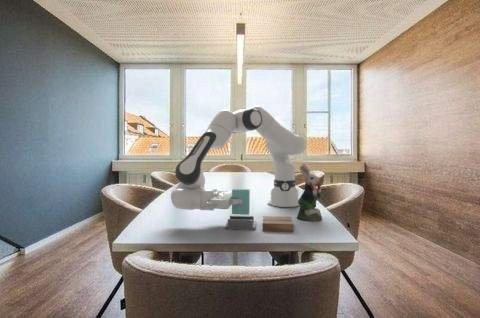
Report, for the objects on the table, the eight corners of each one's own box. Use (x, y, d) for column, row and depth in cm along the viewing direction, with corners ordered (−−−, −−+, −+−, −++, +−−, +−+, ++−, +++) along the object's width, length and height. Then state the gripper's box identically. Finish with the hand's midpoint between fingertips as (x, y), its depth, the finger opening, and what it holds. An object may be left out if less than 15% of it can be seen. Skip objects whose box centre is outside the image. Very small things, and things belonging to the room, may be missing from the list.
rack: (228, 222, 136) (228, 214, 136) (256, 223, 135) (256, 215, 135) (225, 229, 126) (225, 220, 126) (254, 229, 125) (254, 221, 125)
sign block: (232, 212, 132) (232, 188, 131) (249, 213, 131) (249, 189, 131) (231, 214, 129) (232, 189, 128) (248, 214, 128) (249, 190, 128)
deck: (263, 223, 136) (263, 216, 135) (291, 223, 134) (291, 217, 134) (262, 230, 124) (262, 223, 123) (293, 231, 122) (293, 224, 122)
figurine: (321, 225, 138) (330, 169, 136) (291, 220, 141) (300, 165, 138) (320, 219, 149) (329, 167, 146) (292, 214, 151) (300, 162, 149)
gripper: (204, 196, 121) (240, 197, 119) (214, 188, 141) (245, 189, 140) (204, 212, 121) (240, 213, 120) (214, 202, 141) (244, 203, 140)
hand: (243, 200), depth 130 cm, fingers closed on sign block, 3 cm apart
